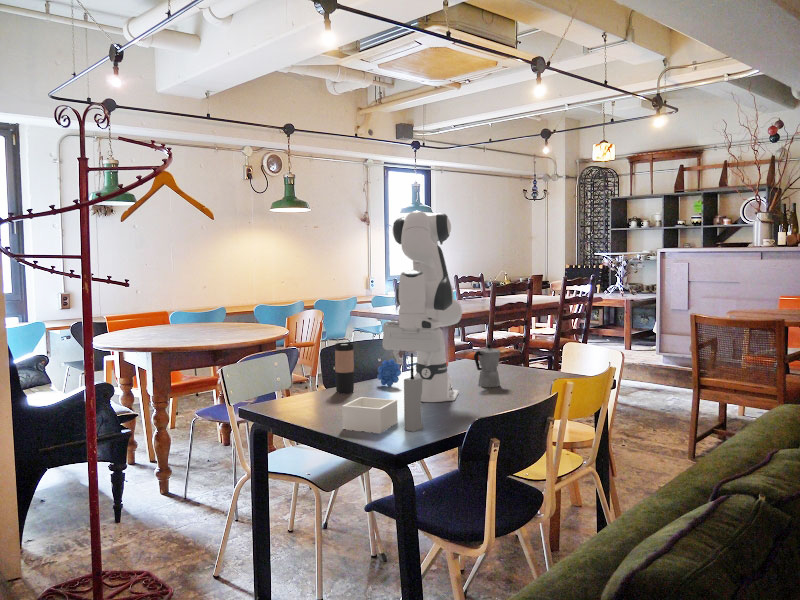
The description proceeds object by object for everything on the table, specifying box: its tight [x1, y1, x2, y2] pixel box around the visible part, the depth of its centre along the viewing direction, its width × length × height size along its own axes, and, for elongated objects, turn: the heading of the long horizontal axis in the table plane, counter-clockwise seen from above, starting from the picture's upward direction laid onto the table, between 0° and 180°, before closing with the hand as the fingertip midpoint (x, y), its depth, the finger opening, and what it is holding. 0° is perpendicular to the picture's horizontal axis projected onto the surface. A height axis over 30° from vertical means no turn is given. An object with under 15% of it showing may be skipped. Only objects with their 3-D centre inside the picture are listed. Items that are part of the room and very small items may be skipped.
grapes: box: [376, 358, 402, 387], centre depth 279 cm, size 12×7×12 cm, turn 61°
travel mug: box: [334, 342, 355, 394], centre depth 268 cm, size 8×8×20 cm
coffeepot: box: [473, 343, 501, 389], centre depth 276 cm, size 15×9×18 cm, turn 129°
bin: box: [341, 396, 398, 434], centre depth 214 cm, size 14×14×8 cm
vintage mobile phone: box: [403, 352, 424, 433], centre depth 209 cm, size 4×5×25 cm
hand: (413, 364), depth 208 cm, fingers open, 8 cm apart
